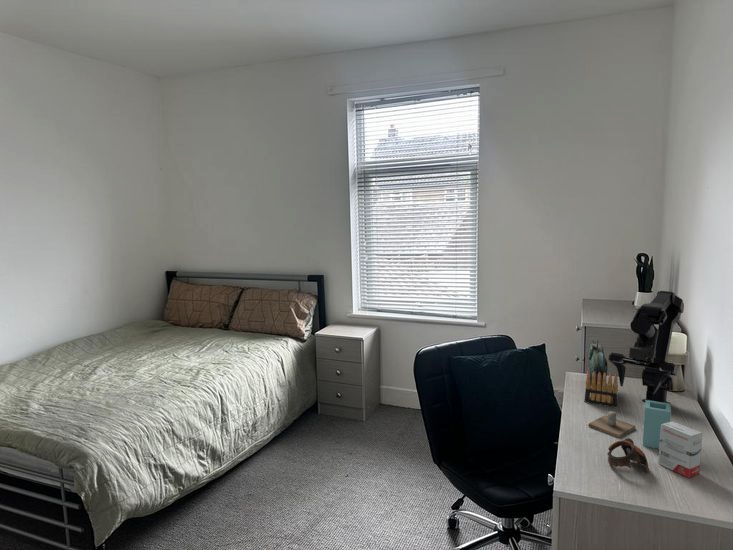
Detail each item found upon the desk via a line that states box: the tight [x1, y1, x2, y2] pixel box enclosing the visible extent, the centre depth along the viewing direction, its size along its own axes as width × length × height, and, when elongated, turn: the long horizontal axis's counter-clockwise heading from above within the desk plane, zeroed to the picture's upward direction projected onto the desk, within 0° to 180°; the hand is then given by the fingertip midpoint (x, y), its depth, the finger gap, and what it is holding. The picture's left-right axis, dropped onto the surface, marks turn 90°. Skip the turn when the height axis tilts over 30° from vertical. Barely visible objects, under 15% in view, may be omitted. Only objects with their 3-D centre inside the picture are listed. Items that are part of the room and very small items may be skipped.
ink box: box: [657, 420, 703, 479], centre depth 130 cm, size 8×5×12 cm, turn 26°
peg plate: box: [587, 410, 636, 439], centre depth 155 cm, size 10×10×5 cm
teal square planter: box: [642, 400, 672, 450], centre depth 144 cm, size 6×6×12 cm
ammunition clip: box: [584, 369, 619, 408], centre depth 173 cm, size 11×2×12 cm, turn 59°
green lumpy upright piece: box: [587, 339, 608, 390], centre depth 183 cm, size 20×6×20 cm, turn 158°
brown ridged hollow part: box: [607, 437, 650, 474], centre depth 133 cm, size 12×10×8 cm
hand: (637, 389), depth 153 cm, fingers open, 9 cm apart
